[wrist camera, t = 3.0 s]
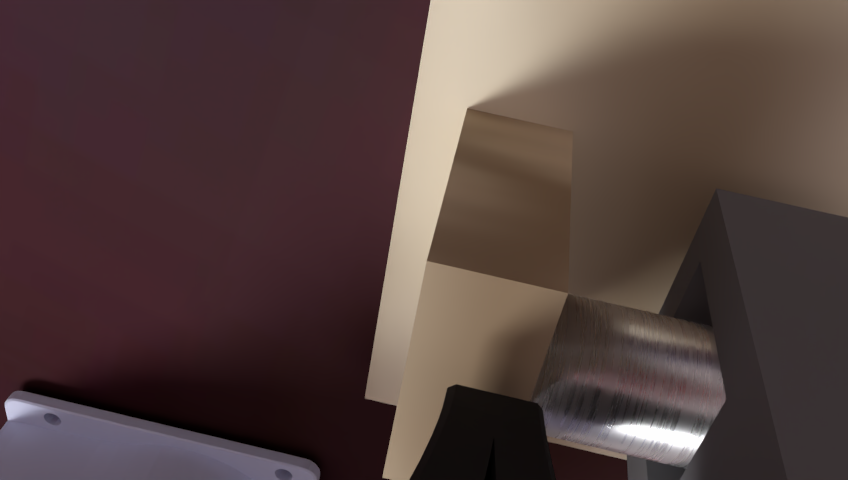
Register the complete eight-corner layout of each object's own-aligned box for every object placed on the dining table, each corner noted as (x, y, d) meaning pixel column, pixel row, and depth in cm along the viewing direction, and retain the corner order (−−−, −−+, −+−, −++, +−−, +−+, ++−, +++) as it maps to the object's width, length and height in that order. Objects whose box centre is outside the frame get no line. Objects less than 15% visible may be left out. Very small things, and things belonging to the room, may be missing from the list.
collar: (623, 390, 17) (641, 745, 11) (716, 188, 14) (803, 544, 8) (763, 422, 17) (850, 797, 11) (889, 227, 14) (1096, 613, 8)
